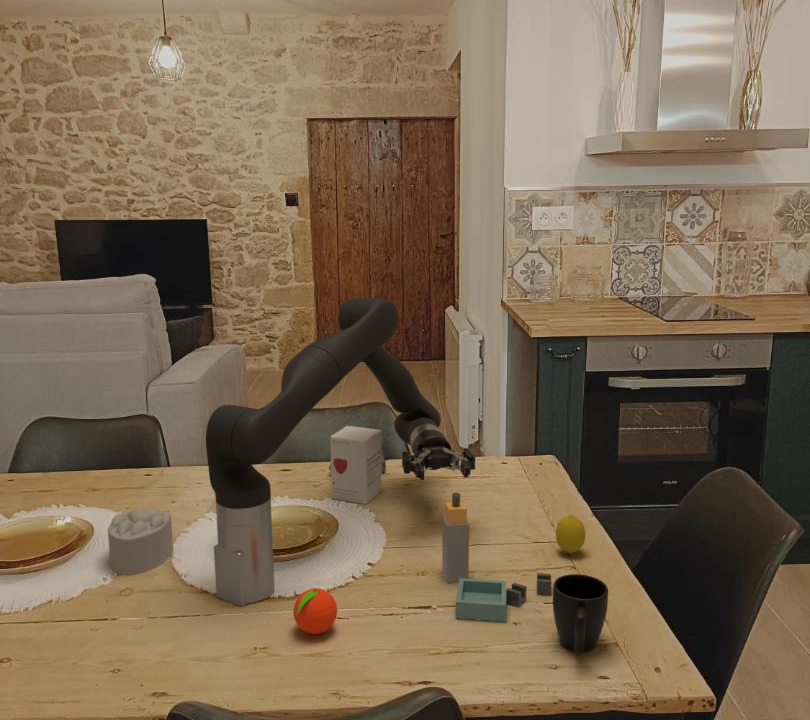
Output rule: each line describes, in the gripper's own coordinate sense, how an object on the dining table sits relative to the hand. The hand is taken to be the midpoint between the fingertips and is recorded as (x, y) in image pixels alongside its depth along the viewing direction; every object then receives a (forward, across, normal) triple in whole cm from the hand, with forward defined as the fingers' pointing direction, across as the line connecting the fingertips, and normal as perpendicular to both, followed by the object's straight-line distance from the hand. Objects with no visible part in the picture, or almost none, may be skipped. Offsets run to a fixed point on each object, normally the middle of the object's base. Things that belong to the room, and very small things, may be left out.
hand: (444, 474), depth 153 cm
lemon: (+6, +23, +16) cm, 29 cm away
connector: (+12, 0, +15) cm, 19 cm away
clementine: (+26, -26, +15) cm, 40 cm away
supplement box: (-30, -15, +16) cm, 37 cm away
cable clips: (+20, +11, +15) cm, 27 cm away
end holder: (+23, +2, +15) cm, 27 cm away
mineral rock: (-44, -13, +16) cm, 49 cm away
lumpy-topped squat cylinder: (-4, -58, +15) cm, 60 cm away
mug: (+37, +14, +15) cm, 42 cm away
